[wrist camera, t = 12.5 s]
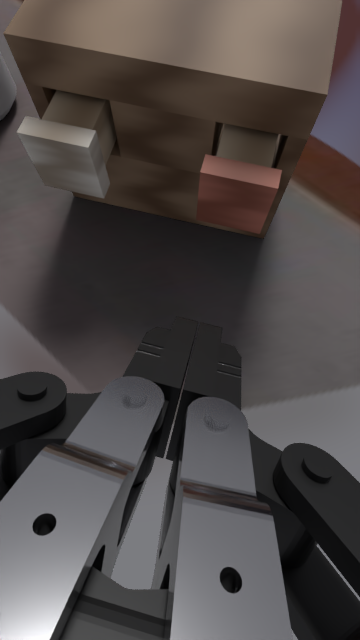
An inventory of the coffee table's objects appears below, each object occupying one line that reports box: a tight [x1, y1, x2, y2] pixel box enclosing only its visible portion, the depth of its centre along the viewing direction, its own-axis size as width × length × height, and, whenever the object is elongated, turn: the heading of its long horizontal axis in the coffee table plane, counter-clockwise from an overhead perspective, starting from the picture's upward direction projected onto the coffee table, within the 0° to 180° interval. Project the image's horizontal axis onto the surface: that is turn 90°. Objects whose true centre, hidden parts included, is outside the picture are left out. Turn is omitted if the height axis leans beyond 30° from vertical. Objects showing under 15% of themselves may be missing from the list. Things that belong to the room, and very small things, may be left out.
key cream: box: [17, 90, 117, 198], centre depth 21 cm, size 4×9×4 cm, turn 165°
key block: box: [4, 0, 342, 239], centre depth 23 cm, size 16×7×12 cm, turn 76°
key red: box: [196, 123, 282, 234], centre depth 20 cm, size 4×9×4 cm, turn 166°
